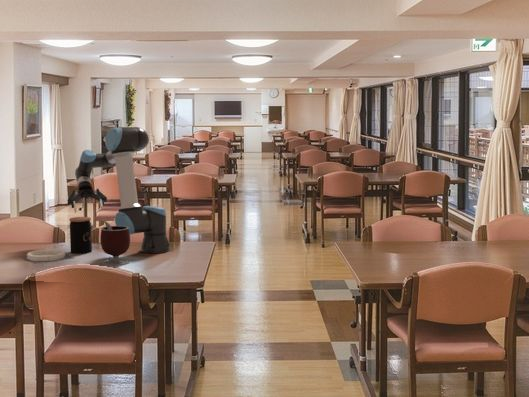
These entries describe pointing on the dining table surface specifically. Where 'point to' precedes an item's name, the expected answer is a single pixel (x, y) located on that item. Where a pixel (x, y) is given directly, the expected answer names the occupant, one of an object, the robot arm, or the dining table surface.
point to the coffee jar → (80, 235)
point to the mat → (46, 261)
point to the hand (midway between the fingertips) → (88, 209)
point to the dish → (46, 255)
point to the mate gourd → (115, 243)
